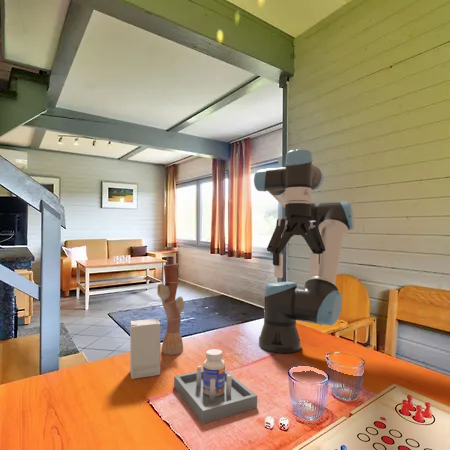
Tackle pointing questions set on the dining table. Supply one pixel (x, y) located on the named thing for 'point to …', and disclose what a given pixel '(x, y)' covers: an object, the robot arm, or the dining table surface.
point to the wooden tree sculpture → (171, 310)
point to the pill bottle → (214, 372)
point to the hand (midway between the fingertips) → (296, 276)
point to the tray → (214, 405)
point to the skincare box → (145, 348)
